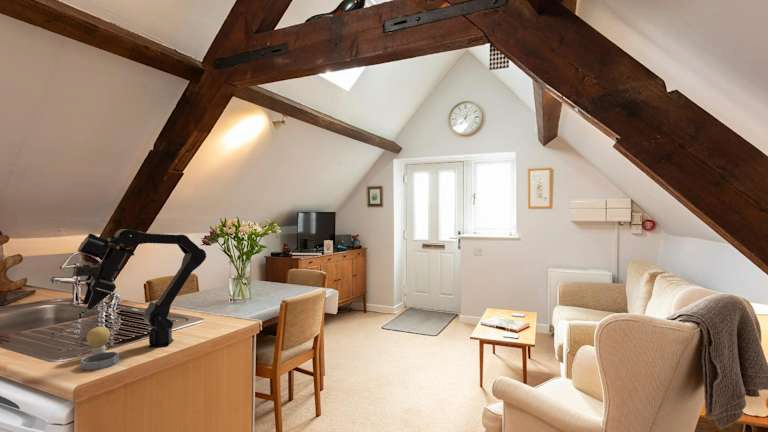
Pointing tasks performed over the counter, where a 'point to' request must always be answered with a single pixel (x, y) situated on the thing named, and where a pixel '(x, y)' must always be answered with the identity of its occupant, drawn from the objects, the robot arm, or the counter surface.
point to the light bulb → (98, 339)
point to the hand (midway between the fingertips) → (86, 306)
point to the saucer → (99, 360)
